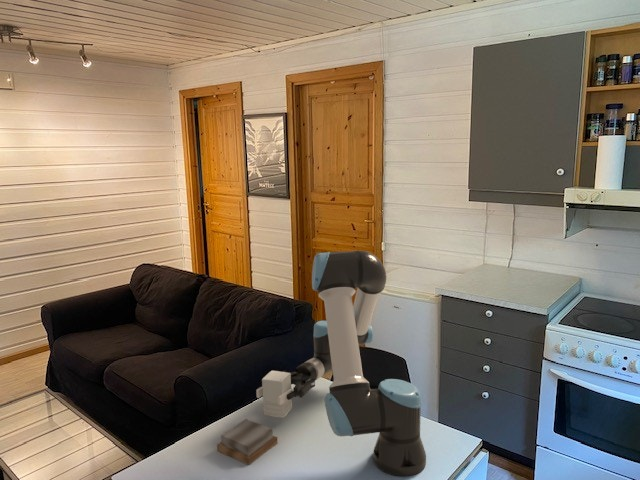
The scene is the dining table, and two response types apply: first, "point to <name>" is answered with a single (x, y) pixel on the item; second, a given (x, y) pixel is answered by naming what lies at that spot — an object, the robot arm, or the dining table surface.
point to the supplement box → (276, 393)
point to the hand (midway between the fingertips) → (268, 397)
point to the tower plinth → (247, 441)
